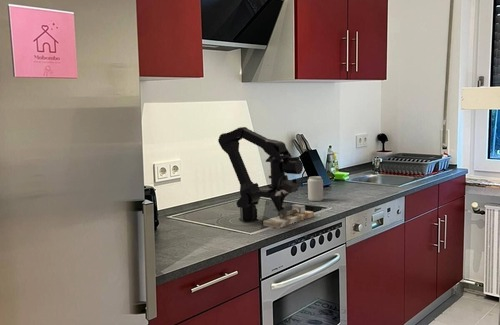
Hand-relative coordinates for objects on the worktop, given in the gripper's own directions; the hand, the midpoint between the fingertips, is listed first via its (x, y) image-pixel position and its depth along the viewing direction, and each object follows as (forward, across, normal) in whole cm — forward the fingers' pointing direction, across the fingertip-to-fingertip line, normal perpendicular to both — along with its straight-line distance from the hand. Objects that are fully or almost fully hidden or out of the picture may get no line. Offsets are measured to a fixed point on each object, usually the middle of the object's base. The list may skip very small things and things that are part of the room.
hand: (279, 210), depth 200 cm
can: (+6, +48, +16) cm, 50 cm away
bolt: (+3, +6, 0) cm, 7 cm away
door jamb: (+6, +6, 0) cm, 9 cm away
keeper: (+3, +13, 0) cm, 13 cm away
